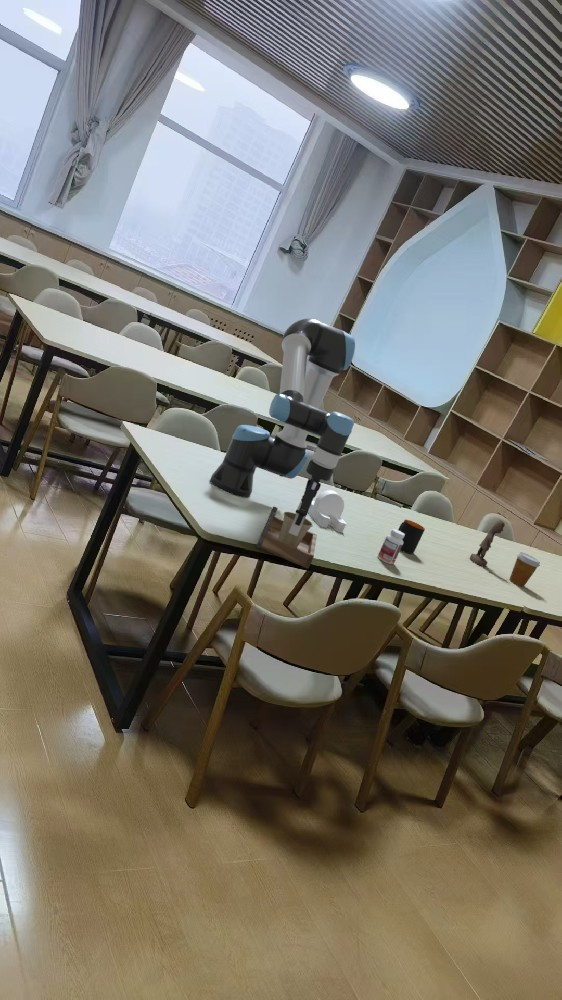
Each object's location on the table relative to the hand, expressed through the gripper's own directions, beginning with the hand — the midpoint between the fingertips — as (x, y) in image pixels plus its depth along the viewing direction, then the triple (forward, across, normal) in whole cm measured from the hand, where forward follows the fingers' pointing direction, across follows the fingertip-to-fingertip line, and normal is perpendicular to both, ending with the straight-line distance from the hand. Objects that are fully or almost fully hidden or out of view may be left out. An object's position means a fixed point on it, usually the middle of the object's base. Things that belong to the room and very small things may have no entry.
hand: (294, 528), depth 226 cm
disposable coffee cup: (+7, -83, +95) cm, 126 cm away
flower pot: (+6, 0, 0) cm, 6 cm away
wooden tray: (+6, 0, 0) cm, 6 cm away
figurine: (+7, -91, +79) cm, 121 cm away
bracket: (+7, -52, +10) cm, 53 cm away
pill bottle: (+7, -32, +34) cm, 47 cm away
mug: (+7, -61, +42) cm, 74 cm away
